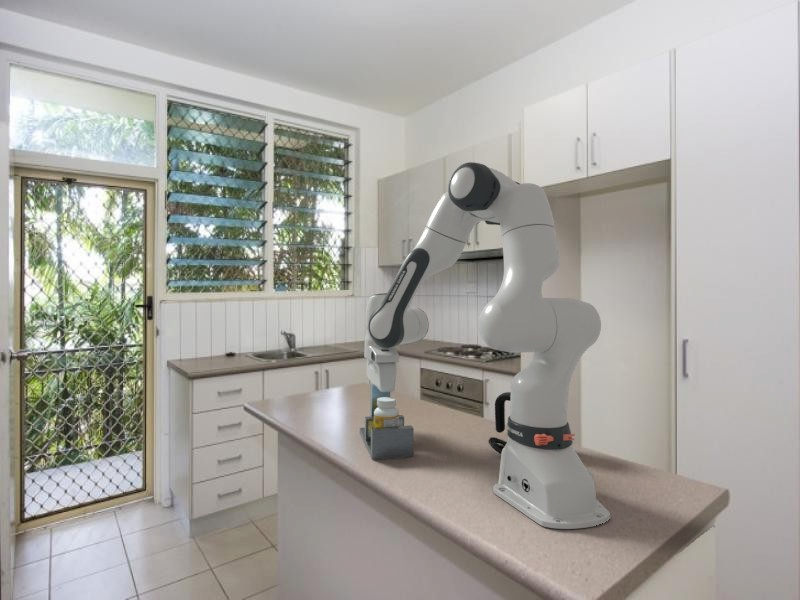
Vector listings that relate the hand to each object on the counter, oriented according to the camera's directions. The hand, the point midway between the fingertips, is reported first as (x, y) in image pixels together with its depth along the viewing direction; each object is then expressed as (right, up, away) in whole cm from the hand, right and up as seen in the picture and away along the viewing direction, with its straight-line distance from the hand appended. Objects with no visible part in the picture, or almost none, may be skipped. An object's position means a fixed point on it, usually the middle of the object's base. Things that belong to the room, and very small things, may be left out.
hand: (378, 400), depth 125 cm
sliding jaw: (+1, -8, -6) cm, 10 cm away
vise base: (+2, -9, -9) cm, 13 cm away
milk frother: (+36, -10, -12) cm, 39 cm away
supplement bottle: (+3, -8, -13) cm, 16 cm away
